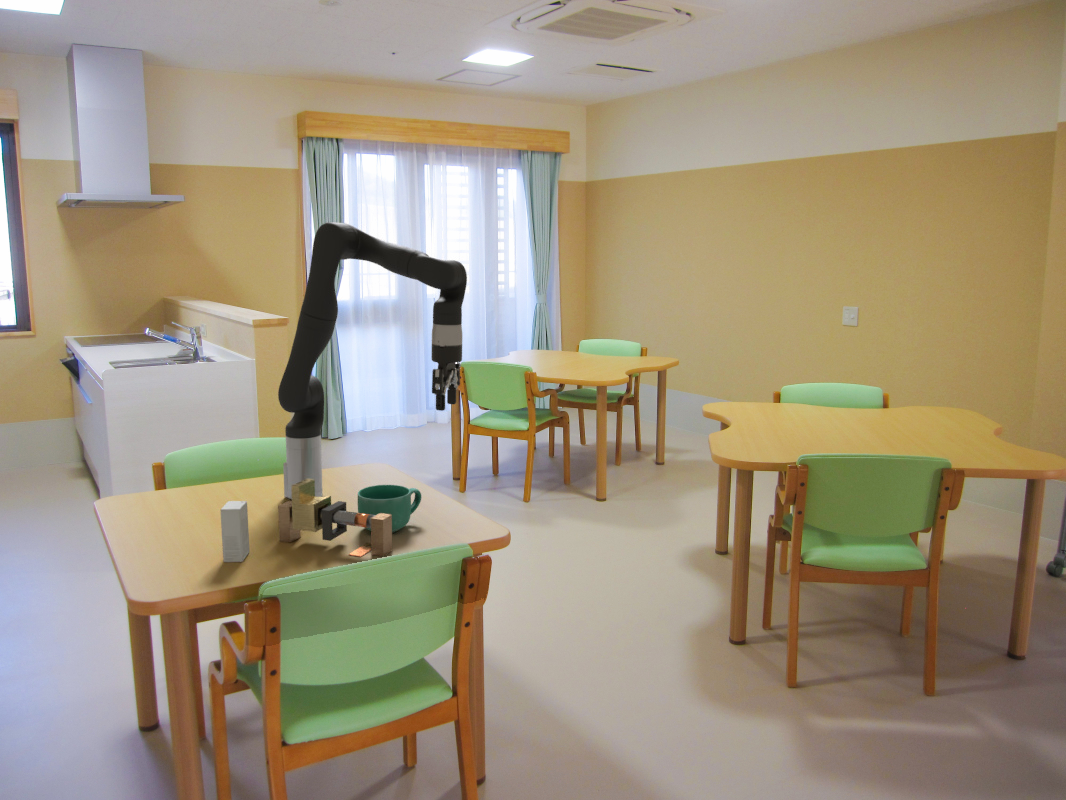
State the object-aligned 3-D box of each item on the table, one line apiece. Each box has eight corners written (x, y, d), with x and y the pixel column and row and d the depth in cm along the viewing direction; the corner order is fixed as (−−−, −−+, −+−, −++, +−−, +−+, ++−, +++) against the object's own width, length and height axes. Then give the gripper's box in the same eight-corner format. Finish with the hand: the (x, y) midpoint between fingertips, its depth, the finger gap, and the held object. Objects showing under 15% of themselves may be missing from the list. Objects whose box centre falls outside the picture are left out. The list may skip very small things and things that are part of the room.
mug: (371, 541, 190) (371, 502, 188) (349, 526, 199) (348, 489, 198) (434, 528, 199) (434, 491, 197) (410, 515, 209) (410, 479, 207)
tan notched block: (291, 529, 185) (290, 485, 183) (309, 520, 192) (308, 478, 190) (314, 532, 183) (313, 488, 181) (331, 523, 190) (330, 480, 188)
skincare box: (230, 552, 181) (227, 500, 179) (250, 552, 181) (247, 500, 179) (222, 562, 175) (219, 509, 173) (242, 562, 175) (240, 509, 173)
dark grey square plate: (322, 539, 183) (321, 509, 182) (339, 530, 189) (338, 501, 188) (330, 540, 182) (329, 510, 181) (346, 531, 189) (346, 502, 187)
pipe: (274, 543, 187) (272, 508, 185) (294, 532, 194) (293, 498, 193) (379, 559, 178) (378, 522, 177) (396, 547, 186) (395, 511, 184)
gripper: (442, 338, 208) (441, 401, 211) (422, 344, 194) (421, 411, 197) (470, 340, 206) (469, 403, 209) (452, 346, 193) (451, 413, 196)
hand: (446, 407), depth 203 cm, fingers open, 8 cm apart
